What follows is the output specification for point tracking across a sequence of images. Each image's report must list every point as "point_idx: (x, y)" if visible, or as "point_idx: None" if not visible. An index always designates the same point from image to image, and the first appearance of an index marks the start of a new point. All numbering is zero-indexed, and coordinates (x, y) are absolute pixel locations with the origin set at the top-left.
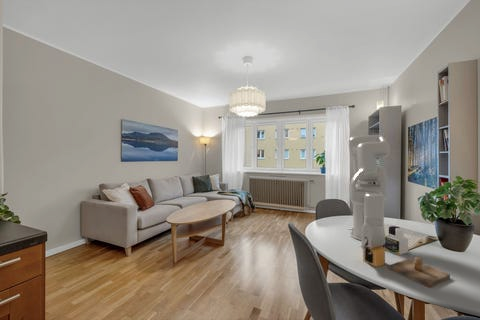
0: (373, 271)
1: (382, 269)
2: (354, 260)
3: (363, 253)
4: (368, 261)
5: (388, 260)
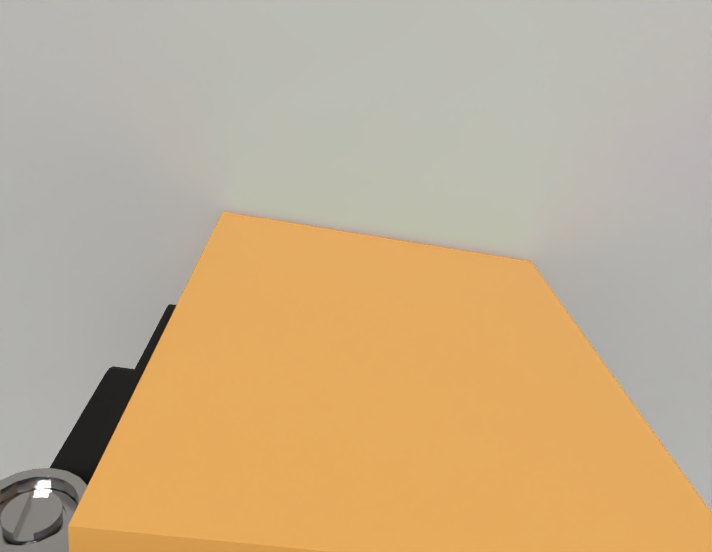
0: None
1: None
2: (28, 76)
3: (181, 309)
4: None
5: None
